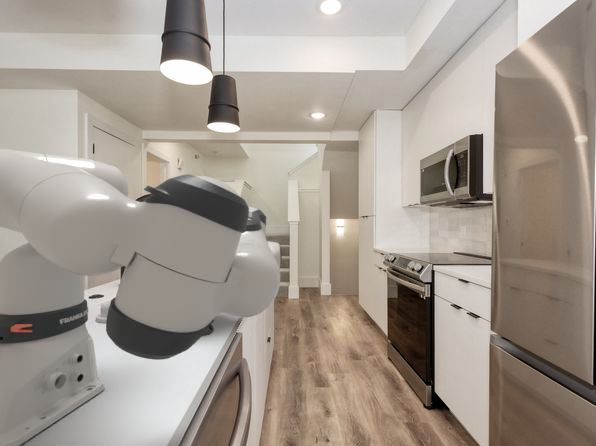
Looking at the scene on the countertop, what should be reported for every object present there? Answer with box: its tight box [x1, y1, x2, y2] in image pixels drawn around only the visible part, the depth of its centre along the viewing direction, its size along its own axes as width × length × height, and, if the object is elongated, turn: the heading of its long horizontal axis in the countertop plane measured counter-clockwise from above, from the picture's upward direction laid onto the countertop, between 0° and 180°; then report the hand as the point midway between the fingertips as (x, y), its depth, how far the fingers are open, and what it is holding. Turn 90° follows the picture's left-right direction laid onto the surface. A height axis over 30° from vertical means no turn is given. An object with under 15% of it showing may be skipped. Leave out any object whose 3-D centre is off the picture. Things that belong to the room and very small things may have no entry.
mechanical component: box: [95, 301, 111, 324], centre depth 93 cm, size 10×4×10 cm
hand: (170, 257), depth 87 cm, fingers closed on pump, 5 cm apart
